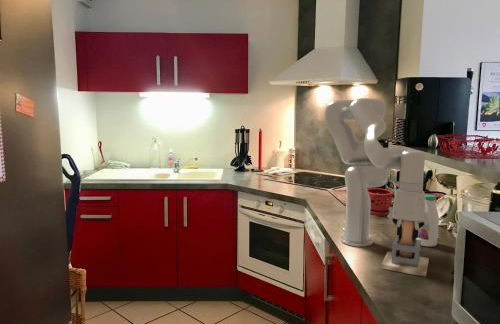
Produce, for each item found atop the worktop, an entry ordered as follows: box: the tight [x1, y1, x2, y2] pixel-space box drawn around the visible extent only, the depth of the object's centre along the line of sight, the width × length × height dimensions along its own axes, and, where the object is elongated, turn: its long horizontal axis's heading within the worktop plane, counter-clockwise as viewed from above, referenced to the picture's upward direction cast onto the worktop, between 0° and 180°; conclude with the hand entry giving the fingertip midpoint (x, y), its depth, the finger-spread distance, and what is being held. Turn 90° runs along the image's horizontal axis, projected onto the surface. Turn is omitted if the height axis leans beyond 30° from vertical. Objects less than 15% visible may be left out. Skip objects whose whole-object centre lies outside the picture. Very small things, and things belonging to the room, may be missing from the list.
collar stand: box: [380, 235, 430, 277], centre depth 139 cm, size 14×14×8 cm
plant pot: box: [367, 187, 393, 216], centre depth 206 cm, size 13×13×12 cm
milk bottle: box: [416, 193, 440, 247], centre depth 161 cm, size 8×8×20 cm
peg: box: [400, 220, 415, 258], centre depth 138 cm, size 4×4×16 cm
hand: (407, 238), depth 139 cm, fingers closed on peg, 4 cm apart
